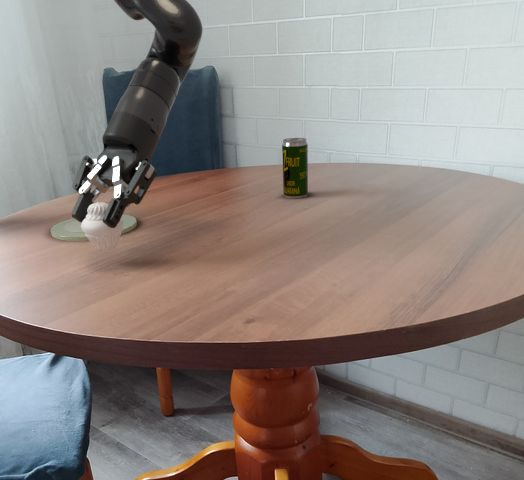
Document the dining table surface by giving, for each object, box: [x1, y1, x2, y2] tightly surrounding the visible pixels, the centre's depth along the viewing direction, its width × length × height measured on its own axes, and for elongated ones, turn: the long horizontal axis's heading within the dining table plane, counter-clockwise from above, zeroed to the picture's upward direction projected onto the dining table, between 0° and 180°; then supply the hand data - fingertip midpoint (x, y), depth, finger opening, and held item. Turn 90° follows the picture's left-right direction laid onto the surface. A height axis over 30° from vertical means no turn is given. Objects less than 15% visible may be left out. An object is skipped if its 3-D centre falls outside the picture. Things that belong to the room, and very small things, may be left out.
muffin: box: [81, 201, 123, 251], centre depth 82 cm, size 6×6×7 cm
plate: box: [50, 213, 138, 242], centre depth 104 cm, size 16×16×1 cm
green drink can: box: [281, 137, 309, 200], centre depth 116 cm, size 5×5×12 cm
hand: (92, 222), depth 80 cm, fingers closed on muffin, 6 cm apart
